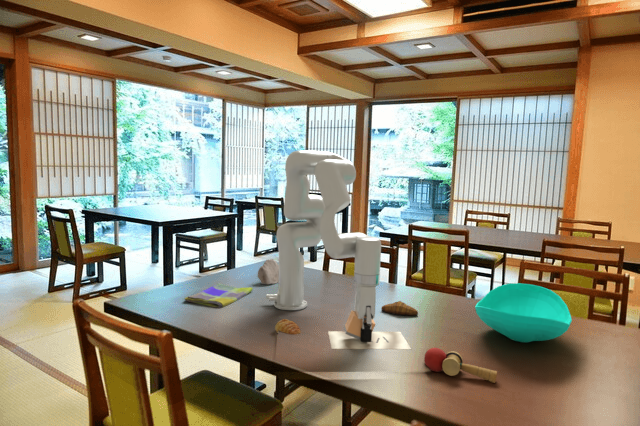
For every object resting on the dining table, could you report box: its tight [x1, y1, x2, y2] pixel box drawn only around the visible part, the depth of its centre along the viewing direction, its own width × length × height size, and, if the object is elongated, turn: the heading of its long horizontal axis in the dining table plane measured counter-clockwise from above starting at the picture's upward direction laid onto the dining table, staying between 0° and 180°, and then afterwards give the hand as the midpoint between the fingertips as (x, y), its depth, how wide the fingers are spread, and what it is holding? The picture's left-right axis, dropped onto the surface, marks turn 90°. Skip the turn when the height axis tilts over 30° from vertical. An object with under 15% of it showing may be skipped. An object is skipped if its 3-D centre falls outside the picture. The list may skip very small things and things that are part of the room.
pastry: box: [274, 318, 302, 335], centre depth 136 cm, size 9×7×4 cm
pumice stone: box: [257, 258, 279, 285], centre depth 197 cm, size 15×8×10 cm, turn 145°
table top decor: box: [474, 282, 573, 343], centre depth 138 cm, size 40×28×13 cm
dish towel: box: [184, 282, 254, 309], centre depth 172 cm, size 18×24×3 cm
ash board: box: [327, 330, 412, 350], centre depth 130 cm, size 23×13×2 cm, turn 93°
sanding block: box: [343, 309, 377, 340], centre depth 129 cm, size 7×5×6 cm
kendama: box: [423, 347, 498, 384], centre depth 112 cm, size 8×6×18 cm
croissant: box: [381, 300, 419, 317], centre depth 159 cm, size 14×7×5 cm, turn 70°
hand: (364, 337), depth 130 cm, fingers closed on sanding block, 5 cm apart
